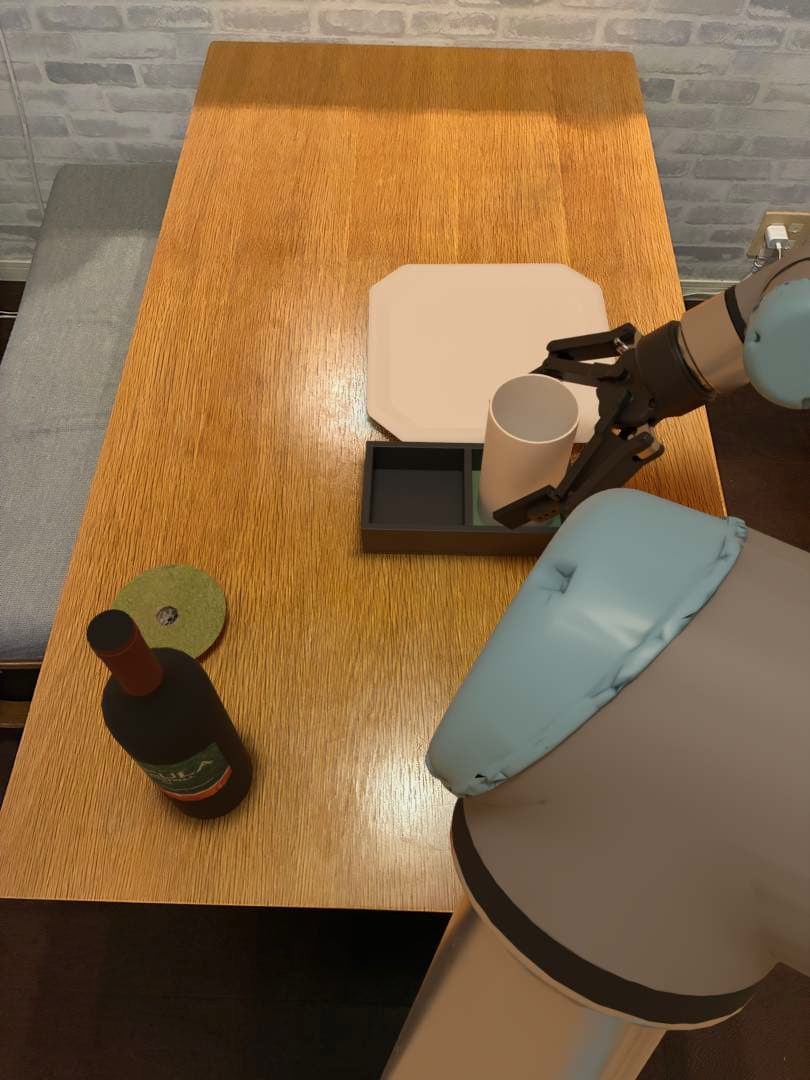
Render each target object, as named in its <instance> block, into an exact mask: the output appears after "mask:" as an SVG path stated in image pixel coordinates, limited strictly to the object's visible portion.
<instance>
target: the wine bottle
mask: <svg viewBox="0 0 810 1080" xmlns="http://www.w3.org/2000/svg"><path fill="white" fill-rule="evenodd" d="M110 609H111V608H110ZM110 609H107V610H102V611H101V612H99V613H98V614H96V615H95V616H94V617H93V618H92V619H91V620H90V621H89V623H88V625H87V627H86V632H85V635H86V641H87V642H88V644H89V647H90V648H91V650H92V652H93V653H94V654H95V655H96V657H97V658H98V659H99V660H101V661H102V662H103V664H104V665H105V666H106V668H107V669H108V671H109V672H110V673H111V674H110V675H109V677H108V679H107V681H106V683H105V685H104V687H103V690H102V696H101V704H100V707H101V712H102V718H103V721H104V724H105V726H106V728H107V729H108V731H109V733H110V735H111V736H112V738H113V739H114V741H116V743H118V744H119V746H120V747H121V748H122V749H123V750H124V751H125V753H127V755H128V756H129V757H130V758H131V759H132V760H133V761H134V762H135V764H137V766H138V767H139V768H140V769H141V770H142V771H143V772H144V774H145V775H146V776H147V777H148V778H149V779H150V780H151V781H152V782H153V783H154V784H155V785H156V786H157V788H158V789H159V790H160V791H161V792H162V793H163V795H164V796H166V798H167V799H168V800H169V801H170V802H171V803H172V804H173V806H174V807H175V808H176V809H177V810H179V811H180V812H182V813H183V814H184V815H186V816H187V817H190V818H193V819H197V820H201V821H202V820H215V819H218V818H220V817H221V818H222V817H224V816H226V815H228V814H229V813H231V812H232V811H233V810H234V809H237V808H238V807H239V806H240V804H241V803H242V802H243V800H244V799H245V798H246V797H247V795H248V794H249V791H250V787H251V785H252V782H253V771H254V768H253V764H252V760H251V756H250V755H249V752H248V750H247V749H246V746H245V744H244V743H243V741H242V739H241V737H240V735H239V733H238V731H237V729H236V727H235V725H234V723H233V721H232V719H231V716H230V715H229V714H228V711H227V709H226V707H225V706H224V703H223V702H222V699H221V697H220V696H219V694H218V692H217V690H216V688H215V686H214V684H213V682H212V680H211V677H210V676H209V674H208V673H207V671H206V670H205V669H204V667H203V666H202V664H201V663H200V662H199V661H198V660H197V659H196V658H195V659H194V658H193V657H191V656H190V655H188V654H187V653H185V652H184V651H181V650H177V649H173V648H170V647H159V648H149V646H148V645H147V643H146V641H145V640H144V638H143V636H142V635H141V632H140V629H139V628H138V626H137V625H136V623H135V622H134V620H133V619H132V618H131V617H130V616H129V615H128V614H127V613H125V612H124V611H121V610H118V609H111V610H110Z"/></svg>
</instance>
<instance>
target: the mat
mask: <svg viewBox="0 0 810 1080" xmlns="http://www.w3.org/2000/svg"><path fill="white" fill-rule="evenodd" d="M111 609H118V610H121V611H124V612H125V613H127V614H128V615H129V616H130V617H131V618H132V619H133V620H134V622H135V623H136V625H137V626H138V628H139V629H140V632H141V635H142V636H143V638H144V640H145V641H146V643H147V645H148V646H149V648H159V647H170V648H173V649H177V650H181V651H184V652H185V653H187V654H188V655H190V656H191V657H193V658H194V659H196V658H198V657H199V656H201V655H202V654H204V653H205V652H206V651H207V650H208V649H209V648H210V647H211V646H212V645H213V644H214V642H215V641H216V640H217V638H218V637H219V635H220V634H221V632H222V630H223V626H224V623H225V619H226V615H227V602H226V597H225V594H224V591H223V590H222V587H221V585H220V584H219V583H218V581H216V579H215V578H214V577H212V575H210V574H209V573H207V572H206V571H205V570H202V569H201V568H198V567H195V566H193V565H188V564H183V563H180V564H179V563H177V564H176V563H171V564H164V565H159V566H156V567H151V568H149V569H148V570H145V571H142V572H141V573H139V574H138V575H136V576H135V577H133V578H131V580H129V581H128V582H127V583H126V584H125V585H124V586H123V587H122V588H121V589H120V591H119V592H118V593H117V595H116V597H115V598H114V600H113V602H112V604H111V606H110V609H109V610H111Z"/></svg>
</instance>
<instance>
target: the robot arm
mask: <svg viewBox="0 0 810 1080" xmlns="http://www.w3.org/2000/svg"><path fill="white" fill-rule="evenodd" d="M546 350H547V351H548V352H549V353H548V357H547V358H546V359H545V360H544V361H543V363H542V365H541V366H540V367H538V368H536V369H535V370H533V371H531V372H530V373H528V374H541V375H546V376H549V377H552V378H555V379H557V380H559V381H561V382H562V381H564V382H570V383H575V384H580V385H586V386H591V387H596V388H597V389H596V396H597V398H598V400H599V406H598V413H599V416H600V419H599V420H598V422H597V423H596V424H595V426H594V431H595V432H594V435H593V436H592V438H591V439H590V441H589V442H588V443H587V444H585V446H584V448H583V449H582V450H581V452H580V454H579V455H578V456H577V457H576V459H575V461H574V462H573V464H571V465H572V466H571V468H570V469H569V471H568V472H567V473H566V475H565V476H564V478H563V479H562V481H561V482H560V483H559V485H558V486H557V488H556V489H555V488H554V487H553V486H551V485H550V484H549V485H547V486H545V487H543V488H541V489H539V490H537V491H535V492H533V493H531V494H529V495H527V496H525V497H522V498H520V499H518V500H516V501H514V502H512V503H510V504H508V505H506V506H504V507H502V508H500V509H498V510H496V511H494V512H493V519H494V520H496V521H497V522H499V523H501V524H502V525H504V526H505V527H507V528H509V529H510V530H513V529H515V528H518V527H520V526H522V525H524V524H526V523H528V522H531V521H534V522H536V523H542V522H544V521H546V520H548V519H551V518H553V517H555V516H557V515H559V514H562V515H563V516H565V517H566V518H567V519H566V520H565V522H564V523H563V524H562V526H561V527H560V528H559V530H558V531H557V533H556V534H555V536H554V537H553V538H552V540H551V541H550V543H549V544H548V546H547V547H546V549H545V550H544V552H543V553H542V555H541V556H540V557H538V559H537V561H536V562H535V564H534V565H533V567H532V568H531V570H530V571H529V573H528V574H527V576H526V578H525V579H524V581H523V582H522V584H521V585H520V587H519V589H518V590H517V592H516V593H515V595H514V597H513V598H512V600H511V601H510V603H509V605H508V606H507V608H506V609H505V611H504V613H503V614H502V615H501V617H500V619H499V621H498V622H497V624H496V625H495V627H494V628H493V630H492V632H491V633H490V636H489V637H488V639H487V640H486V641H485V644H484V645H483V646H482V649H481V650H480V652H479V653H478V656H476V659H475V660H474V662H473V664H472V665H471V667H470V669H469V670H468V672H467V674H466V675H465V677H464V679H463V680H462V682H461V684H460V686H459V687H458V689H457V691H456V693H455V694H454V696H453V698H452V699H451V701H450V703H449V705H448V707H447V708H446V710H445V712H444V713H443V716H442V718H441V719H440V721H439V723H438V725H437V727H436V729H435V731H434V733H433V734H432V737H431V739H430V741H429V744H428V748H427V750H426V752H425V756H424V757H425V758H424V763H425V767H426V768H427V770H428V772H429V774H430V776H432V777H433V778H435V779H437V780H439V781H440V783H441V784H442V786H443V788H445V789H446V790H447V791H448V792H449V793H451V794H452V795H453V796H455V798H457V799H456V801H455V804H454V806H453V810H452V815H451V821H450V827H449V834H448V835H449V846H450V854H451V857H452V862H453V865H454V869H455V873H456V875H457V877H458V880H459V882H460V885H461V887H462V889H463V890H462V892H461V894H460V897H459V899H458V901H457V904H456V906H455V908H454V909H453V910H454V911H453V912H452V914H451V917H450V920H449V922H448V924H447V926H446V929H445V931H444V933H443V936H442V938H441V940H440V942H439V945H438V947H437V949H436V951H435V954H434V956H433V959H432V961H431V963H430V965H429V967H428V969H427V971H426V974H425V977H424V978H423V980H422V984H421V985H420V988H419V990H418V992H417V994H416V997H415V998H414V1001H413V1004H412V1006H411V1007H410V1011H409V1012H408V1015H407V1016H406V1020H405V1021H404V1024H403V1026H402V1028H401V1031H400V1033H399V1035H398V1038H397V1040H396V1042H395V1044H394V1047H393V1049H392V1052H391V1053H390V1056H389V1058H388V1061H387V1063H386V1066H385V1067H384V1069H383V1072H382V1074H381V1076H380V1078H379V1080H636V1079H637V1077H638V1076H639V1074H640V1073H641V1071H642V1070H643V1068H644V1067H645V1065H646V1063H647V1062H648V1060H649V1059H650V1058H651V1056H652V1054H653V1053H654V1052H655V1050H656V1048H657V1046H658V1045H659V1043H660V1041H661V1040H662V1038H663V1037H664V1036H665V1034H666V1032H667V1031H693V1030H697V1029H703V1028H710V1027H712V1026H715V1025H716V1024H719V1023H722V1022H724V1021H726V1020H728V1019H729V1018H731V1017H733V1016H735V1015H736V1014H738V1013H739V1012H741V1011H742V1009H743V1008H744V1007H745V1006H746V1005H747V1004H748V1003H749V1002H750V1001H751V1000H752V999H753V997H754V996H755V995H756V993H758V991H759V989H760V987H761V986H762V984H763V983H764V981H765V980H766V979H767V977H768V976H769V974H770V973H771V971H772V970H773V969H774V968H775V967H776V965H777V964H778V963H782V964H784V965H786V966H787V967H790V968H792V969H793V970H795V971H797V972H799V973H801V974H803V975H804V976H806V977H809V978H810V552H808V551H806V550H804V549H801V548H799V547H796V546H794V545H791V544H789V543H787V542H784V541H783V540H780V539H777V538H775V537H773V536H770V535H768V534H765V533H764V532H761V531H758V530H757V529H753V528H752V527H749V526H747V525H746V522H745V520H743V519H741V518H739V517H737V516H729V515H726V516H715V515H711V514H709V513H706V512H703V511H700V510H697V509H694V508H692V507H689V506H687V505H683V504H680V503H677V502H674V501H671V500H669V499H667V498H663V497H660V496H658V495H654V494H651V493H649V492H646V491H644V490H640V489H637V488H636V489H635V488H629V487H624V486H625V485H626V484H627V483H628V482H629V481H630V480H631V479H632V478H633V477H634V476H635V475H636V474H637V473H638V472H639V471H640V470H641V469H642V468H643V467H644V466H646V465H648V464H649V463H651V462H653V461H654V460H657V459H658V458H660V457H661V456H663V455H664V453H665V451H666V447H665V445H664V444H662V443H661V442H660V441H659V440H658V439H657V436H656V432H655V429H654V428H655V427H656V426H657V425H658V424H659V423H660V422H661V421H663V420H665V419H668V418H679V417H683V416H685V415H687V414H689V413H691V412H694V411H695V410H697V409H700V408H701V407H704V406H705V405H707V404H709V403H711V402H714V401H715V399H716V397H717V395H718V394H721V395H727V394H729V393H731V392H733V391H735V390H737V389H739V388H741V387H743V386H745V385H747V384H749V383H750V384H751V385H752V387H753V388H754V389H755V390H756V391H757V393H759V394H760V395H761V396H762V397H763V398H764V399H766V400H768V401H769V402H771V403H773V404H775V405H777V406H780V407H783V408H786V409H792V410H802V409H803V410H810V240H809V241H807V242H806V243H804V244H802V245H801V246H799V247H798V248H796V249H794V250H792V251H790V252H789V253H787V254H785V255H784V256H782V257H780V258H778V259H777V260H776V261H774V262H773V263H770V264H769V265H767V266H766V267H764V268H762V269H760V270H758V271H757V272H755V273H753V274H751V275H750V276H748V277H747V278H745V279H743V280H742V281H740V282H738V283H735V284H734V285H732V286H730V287H728V288H727V289H724V290H723V291H720V292H718V293H717V294H715V295H713V296H711V297H709V298H708V299H706V300H704V301H702V302H700V303H699V304H697V305H696V306H694V307H692V308H690V309H688V310H686V311H684V312H682V314H681V318H680V320H675V319H671V320H669V321H668V322H666V323H665V324H663V325H661V326H659V327H657V328H656V329H654V330H652V331H651V332H649V333H647V334H645V335H644V334H643V333H642V332H641V331H639V330H638V329H637V328H636V327H635V326H634V325H633V324H632V322H626V323H623V324H621V325H619V326H617V327H614V328H613V329H610V331H607V332H601V333H595V334H588V335H582V336H576V337H570V338H564V339H558V340H552V341H550V342H549V343H548V344H547V346H546ZM611 357H615V358H617V360H615V364H612V365H611V364H605V363H598V362H594V363H593V364H590V363H584V362H581V361H588V360H596V359H603V358H611ZM562 383H563V382H562ZM489 403H490V400H489ZM612 429H614V430H617V431H619V430H620V431H619V433H618V434H616V433H615V432H613V430H612ZM571 491H573V493H572V495H570V494H569V493H570V492H571Z"/></svg>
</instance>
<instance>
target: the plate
mask: <svg viewBox="0 0 810 1080" xmlns="http://www.w3.org/2000/svg"><path fill="white" fill-rule="evenodd" d="M606 309H607V308H606V303H605V298H604V293H603V289H602V288H601V286H600V285H599V284H598V283H596V282H595V281H593V280H592V279H590V278H588V277H586V276H585V275H583V274H582V273H580V272H578V271H577V270H575V269H573V268H572V267H570V266H568V265H566V264H564V263H560V262H533V263H532V262H530V263H529V262H527V263H526V262H525V263H524V262H523V263H521V262H520V263H517V262H516V263H510V262H509V263H407V264H403V265H400V266H399V267H398V268H396V269H395V270H393V271H392V272H390V273H389V274H387V275H386V276H385V277H383V278H381V279H380V280H379V281H377V282H376V283H374V284H373V285H371V287H370V288H369V291H368V321H367V325H368V326H367V364H366V365H367V366H366V369H367V370H366V372H367V373H366V409H365V411H366V413H367V415H368V417H369V418H370V419H371V420H372V421H374V422H375V423H376V424H377V425H379V427H381V428H383V429H384V430H385V431H386V432H387V433H389V434H390V435H392V436H393V437H394V438H396V439H397V441H405V442H454V443H484V442H485V433H486V425H487V417H488V409H489V400H490V399H491V396H492V394H493V392H494V391H495V389H496V388H497V387H498V386H499V385H500V384H501V383H502V382H504V381H506V380H507V379H509V378H512V377H514V376H518V375H523V374H528V373H530V372H531V371H533V370H535V369H536V368H538V367H540V366H541V365H542V363H543V361H544V360H545V359H546V358H547V357H548V353H549V352H548V351H547V350H546V346H547V344H548V343H549V342H550V341H552V340H558V339H564V338H570V337H576V336H582V335H588V334H595V333H601V332H607V331H611V329H610V326H609V320H608V314H607V310H606ZM581 362H584V363H590V364H593V363H594V362H598V363H605V364H611V365H612V364H615V362H616V357H611V358H603V359H596V360H588V361H581ZM562 382H563V383H564V384H565V385H567V386H568V387H569V388H570V389H571V390H572V391H573V392H574V394H575V395H576V397H577V399H578V401H579V404H580V409H581V414H580V421H579V424H578V428H577V432H576V436H575V440H574V444H573V445H587V443H588V442H589V441H590V439H591V438H592V436H593V435H594V432H595V431H594V426H595V424H596V423H597V422H598V420H599V419H600V416H599V413H598V406H599V400H598V398H597V396H596V389H597V388H596V387H591V386H586V385H580V384H575V383H570V382H564V381H562Z"/></svg>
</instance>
